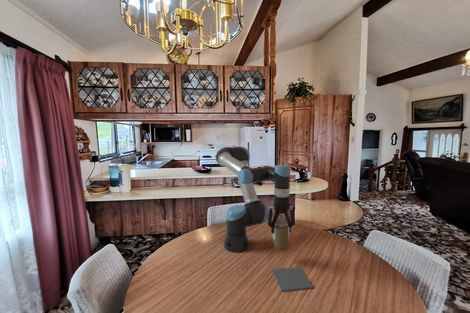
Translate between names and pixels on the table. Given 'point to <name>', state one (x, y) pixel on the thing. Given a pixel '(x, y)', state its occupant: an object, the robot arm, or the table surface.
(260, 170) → the robot arm
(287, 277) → the mat
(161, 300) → the table surface
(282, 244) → the squeeze bottle
